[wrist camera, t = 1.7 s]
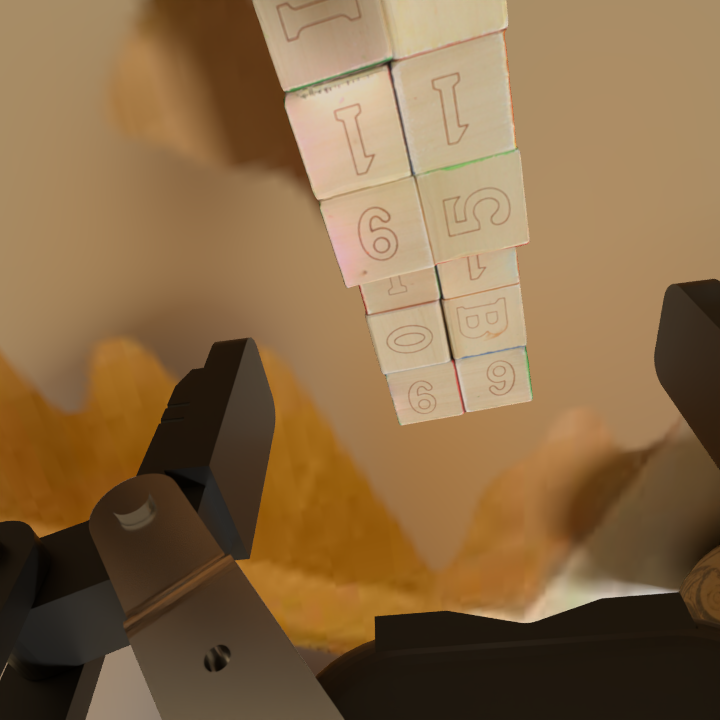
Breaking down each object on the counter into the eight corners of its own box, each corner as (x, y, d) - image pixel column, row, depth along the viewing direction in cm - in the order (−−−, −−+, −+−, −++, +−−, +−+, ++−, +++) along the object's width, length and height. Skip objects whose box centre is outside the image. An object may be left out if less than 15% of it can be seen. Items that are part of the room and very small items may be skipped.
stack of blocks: (496, 300, 33) (551, 453, 23) (389, 322, 34) (397, 478, 24) (429, -197, 21) (484, -334, 11) (267, -141, 22) (181, -220, 12)
